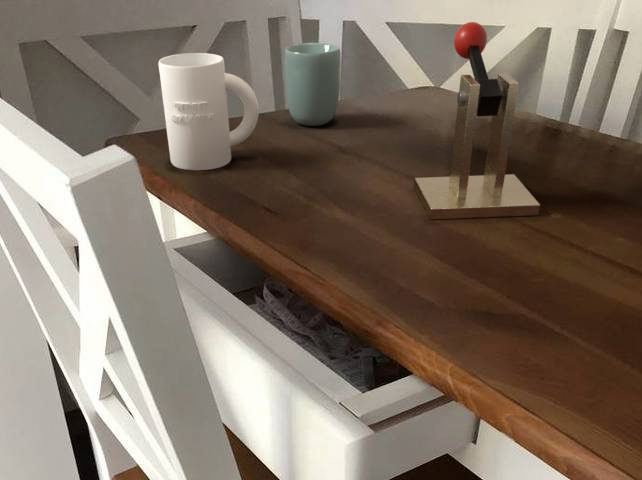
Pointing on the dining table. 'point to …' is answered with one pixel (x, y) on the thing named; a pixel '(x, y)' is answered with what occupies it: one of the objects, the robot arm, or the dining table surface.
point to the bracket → (494, 186)
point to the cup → (312, 82)
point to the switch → (478, 66)
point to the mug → (202, 110)
